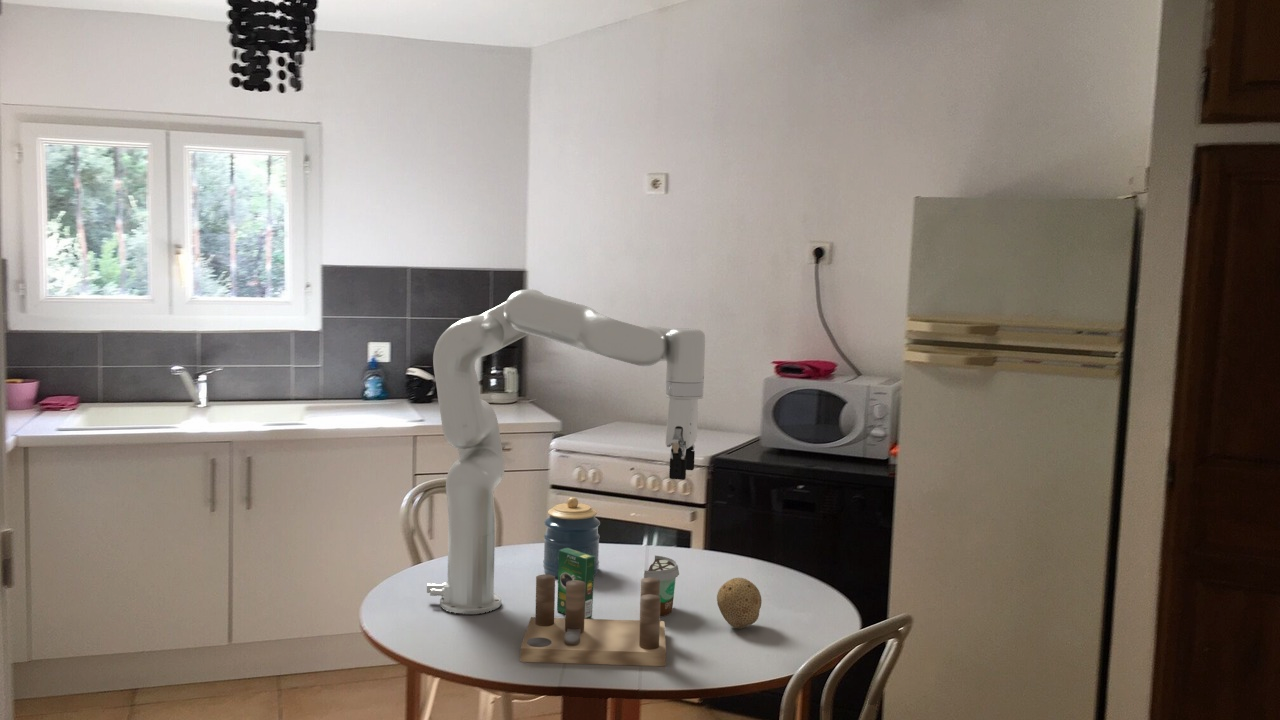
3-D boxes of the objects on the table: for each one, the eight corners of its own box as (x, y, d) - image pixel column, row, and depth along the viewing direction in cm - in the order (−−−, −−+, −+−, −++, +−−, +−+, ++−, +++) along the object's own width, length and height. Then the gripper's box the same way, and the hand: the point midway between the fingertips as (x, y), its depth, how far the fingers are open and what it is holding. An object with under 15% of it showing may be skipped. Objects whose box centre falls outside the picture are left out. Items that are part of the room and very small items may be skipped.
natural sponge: (724, 616, 205) (726, 568, 205) (766, 623, 202) (768, 575, 201) (710, 630, 197) (712, 581, 196) (753, 638, 194) (755, 587, 193)
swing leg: (581, 645, 180) (582, 596, 179) (561, 644, 180) (562, 595, 179) (584, 626, 189) (585, 580, 188) (565, 626, 189) (566, 579, 188)
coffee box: (594, 618, 202) (595, 554, 201) (584, 621, 200) (585, 557, 199) (566, 608, 207) (567, 546, 206) (556, 611, 205) (557, 549, 204)
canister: (575, 560, 242) (576, 488, 240) (610, 573, 232) (612, 498, 231) (531, 570, 233) (533, 495, 231) (566, 584, 223) (568, 506, 222)
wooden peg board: (520, 661, 179) (521, 599, 178) (530, 629, 195) (531, 572, 194) (665, 666, 179) (667, 603, 178) (664, 633, 195) (665, 576, 194)
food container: (672, 622, 201) (674, 574, 200) (642, 619, 202) (643, 571, 201) (682, 602, 213) (683, 557, 212) (653, 600, 214) (655, 554, 213)
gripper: (674, 384, 210) (671, 465, 211) (657, 394, 193) (654, 481, 194) (709, 386, 208) (706, 467, 209) (695, 396, 191) (692, 484, 193)
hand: (681, 474), depth 202 cm, fingers open, 9 cm apart
